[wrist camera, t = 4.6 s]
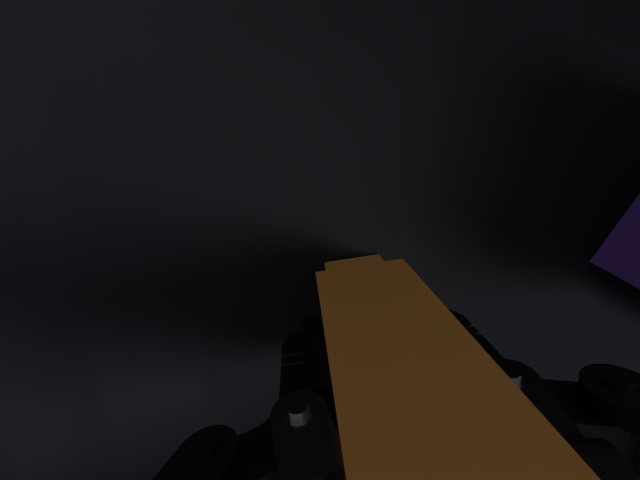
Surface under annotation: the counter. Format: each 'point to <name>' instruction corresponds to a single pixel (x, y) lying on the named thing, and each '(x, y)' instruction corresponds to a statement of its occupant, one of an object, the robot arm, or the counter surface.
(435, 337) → the orange rectangular block
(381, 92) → the counter surface
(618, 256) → the bracket
